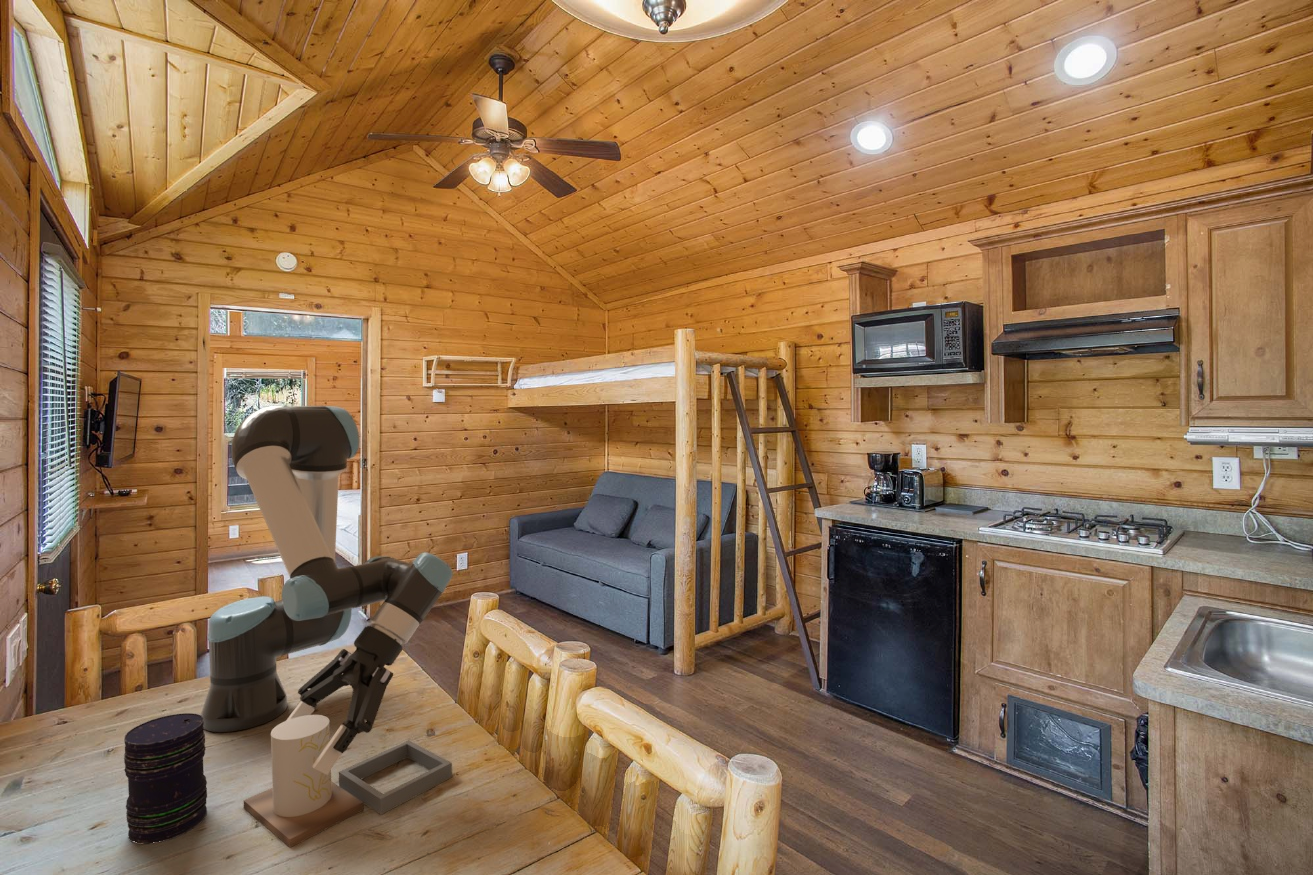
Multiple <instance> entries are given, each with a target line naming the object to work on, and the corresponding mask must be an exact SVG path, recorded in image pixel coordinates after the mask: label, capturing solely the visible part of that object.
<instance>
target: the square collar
mask: <svg viewBox="0 0 1313 875" xmlns="http://www.w3.org/2000/svg"><path fill="white" fill-rule="evenodd" d="M406 759H409V760H411V761H412V762H415V763H416V764H418V765H420V766H421V767H424V768H425V769H427V770H428V771H425V772H424V773H422V774H420V775H418V776H416V777H413V778H412V779H410V780H408V781H406V782H403V783H402V784H399V785H398V786H396V787H394V788H392V789H390V790H389V791H386V792H384V793H383V792H381V791H380V790H378V789H377V788H375V787H373V786H372V785H370V784H369V783H367V782H365V781H364V780H362V779H365V778H368V777H369V776H371V775H373V774H376V773H378V772H379V771H382V770H383V769H386V768H388V767H391V766H393V765H394V764H397V763H398V762H400V761H403V760H406ZM452 777H453V763H452V761H449V760H447V759H445V758H443V757H442V756H440V755H438V754H436V753H434V752H432V751H430V750H428V749H426V748H425V747H422V746H421V745H419V744H417V743H415V742H413V741H412V740H409V739H408V740H406V741H404V742H402V743H401V742H400V743H399V744H396V745H395V746H393V747H391V748H388V749H386V750H384V751H382V752H379V753H376V754H375V755H373V756H370V757H369V758H366V759H363V760H362V761H359V762H357V763H355V764H352V765H351V766H349V767H346V768H344V769H342V770H340V771H338V786H339V787H341V788H342V789H344V790H345V791H347V792H348V793H350V794H351V795H353V796H354V797H356V798H357V799H359V800H360V801H362V802H363V805H366V806H367V807H369V808H370V809H371V810H373V811H374V812H377V813H378V814H379V815H383V814H385V813H387V812H389V811H391V810H393V809H394V808H396V807H399V806H400V805H402V804H404V803H406V802H408V801H410V800H411V799H413V798H415V797H417V796H419V795H422V794H423V793H425V792H426V791H428V790H430V789H432V788H434V787H436V786H438V785H440V784H442V783H444V782H445V781H447V780H449V779H451V778H452Z"/></svg>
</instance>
